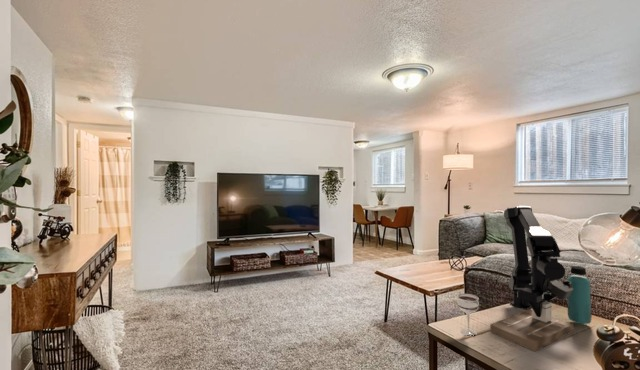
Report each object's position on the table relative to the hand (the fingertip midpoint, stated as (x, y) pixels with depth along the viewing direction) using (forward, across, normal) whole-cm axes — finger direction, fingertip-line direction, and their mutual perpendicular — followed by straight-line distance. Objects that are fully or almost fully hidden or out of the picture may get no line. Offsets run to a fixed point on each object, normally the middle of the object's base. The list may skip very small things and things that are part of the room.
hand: (541, 315), depth 109 cm
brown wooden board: (+4, -6, 0) cm, 7 cm away
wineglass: (+4, -24, +10) cm, 27 cm away
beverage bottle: (+4, +13, -6) cm, 15 cm away
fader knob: (+2, 0, 0) cm, 2 cm away
